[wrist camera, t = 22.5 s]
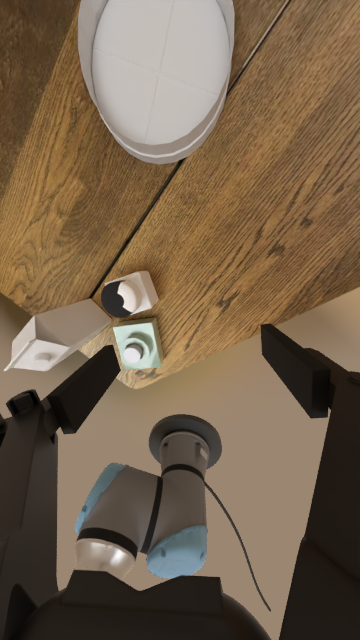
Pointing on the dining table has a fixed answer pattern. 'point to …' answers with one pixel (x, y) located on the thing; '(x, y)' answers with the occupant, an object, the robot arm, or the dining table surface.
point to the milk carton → (57, 335)
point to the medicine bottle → (129, 294)
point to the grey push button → (133, 353)
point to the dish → (157, 71)
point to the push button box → (140, 342)
